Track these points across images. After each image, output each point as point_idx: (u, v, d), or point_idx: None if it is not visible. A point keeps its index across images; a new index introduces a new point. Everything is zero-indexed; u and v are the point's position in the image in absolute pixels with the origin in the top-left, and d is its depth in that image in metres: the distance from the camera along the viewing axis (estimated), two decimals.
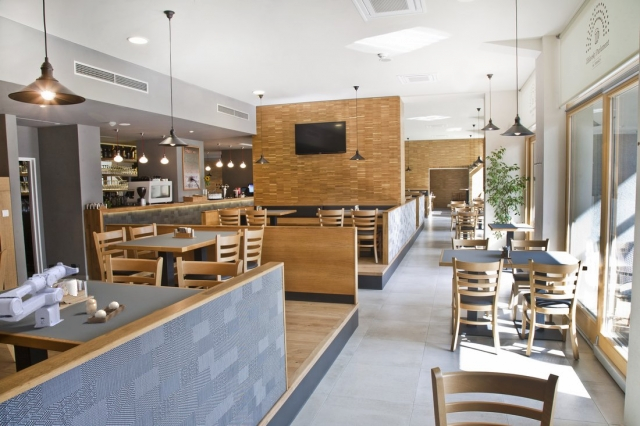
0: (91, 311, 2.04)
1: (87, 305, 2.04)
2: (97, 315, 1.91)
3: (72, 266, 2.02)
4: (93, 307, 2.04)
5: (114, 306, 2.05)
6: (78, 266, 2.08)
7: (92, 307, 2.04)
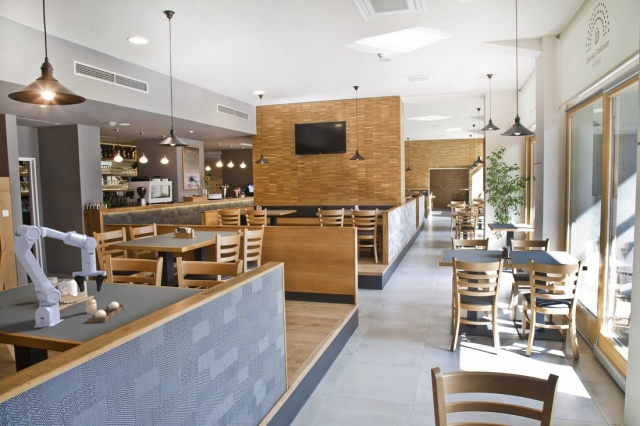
0: (91, 311, 2.04)
1: (87, 305, 2.04)
2: (97, 315, 1.91)
3: None
4: (93, 307, 2.04)
5: (114, 306, 2.05)
6: (99, 288, 2.05)
7: (92, 307, 2.04)
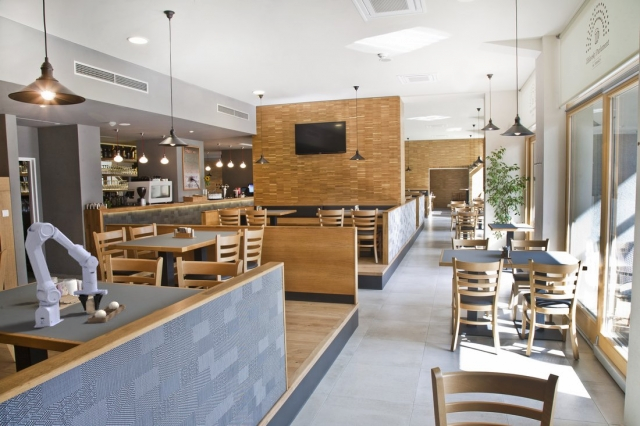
0: (91, 311, 2.04)
1: (87, 305, 2.04)
2: (97, 315, 1.91)
3: None
4: (93, 307, 2.04)
5: (114, 306, 2.05)
6: (97, 306, 2.06)
7: (92, 307, 2.04)
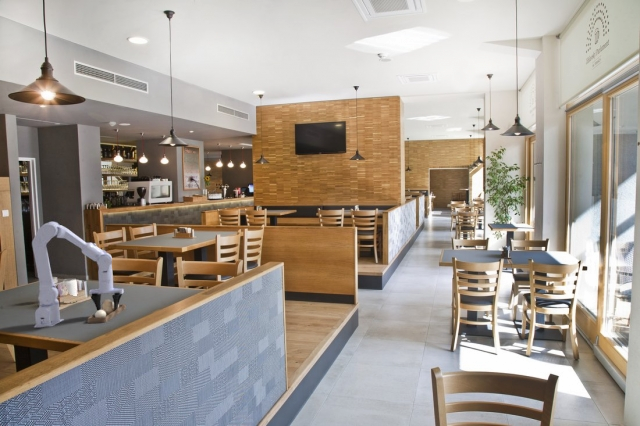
0: (107, 312, 1.98)
1: (103, 306, 1.98)
2: (97, 315, 1.91)
3: None
4: (109, 308, 1.99)
5: None
6: (116, 306, 2.00)
7: (108, 308, 1.98)
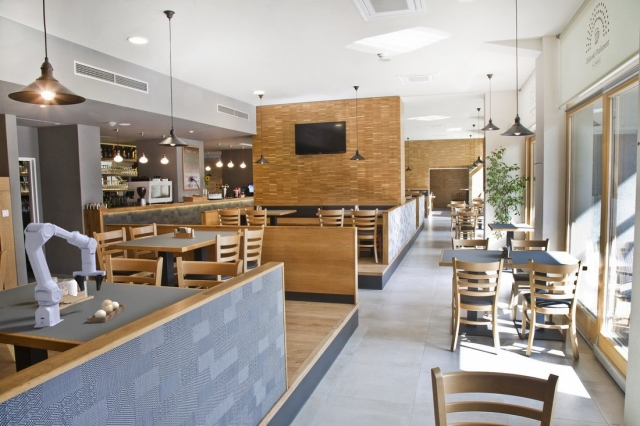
0: (107, 312, 1.98)
1: (102, 306, 1.98)
2: (97, 315, 1.91)
3: None
4: (109, 308, 1.99)
5: (114, 306, 2.05)
6: (99, 287, 2.11)
7: (108, 308, 1.98)
